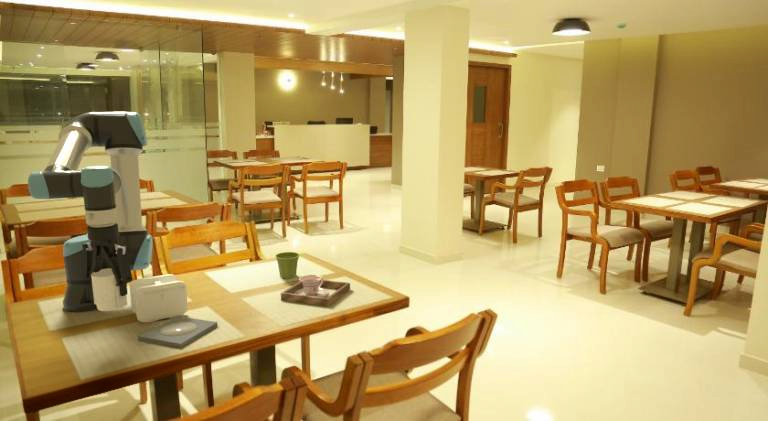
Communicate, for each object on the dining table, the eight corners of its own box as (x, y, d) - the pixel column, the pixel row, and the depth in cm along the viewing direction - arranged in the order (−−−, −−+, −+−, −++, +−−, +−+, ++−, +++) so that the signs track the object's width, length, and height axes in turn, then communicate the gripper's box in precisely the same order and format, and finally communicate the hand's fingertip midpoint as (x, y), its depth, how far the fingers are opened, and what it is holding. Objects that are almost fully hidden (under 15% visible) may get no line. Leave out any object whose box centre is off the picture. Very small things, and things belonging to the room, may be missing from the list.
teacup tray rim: (281, 300, 184) (280, 293, 183) (306, 284, 200) (305, 277, 200) (328, 306, 177) (328, 299, 177) (350, 289, 194) (350, 282, 194)
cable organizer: (181, 305, 179) (178, 272, 176) (189, 315, 170) (186, 280, 168) (132, 315, 171) (128, 280, 168) (137, 326, 162) (134, 289, 160)
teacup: (304, 303, 181) (303, 285, 180) (287, 293, 190) (287, 277, 189) (334, 295, 188) (334, 279, 187) (317, 287, 198) (316, 270, 196)
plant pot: (305, 275, 211) (304, 254, 209) (289, 281, 203) (288, 259, 201) (287, 271, 216) (286, 250, 214) (270, 277, 208) (270, 256, 206)
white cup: (113, 313, 143) (109, 277, 142) (88, 311, 145) (84, 275, 143) (132, 302, 151) (129, 268, 149) (108, 300, 153) (104, 267, 151)
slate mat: (138, 339, 152) (137, 335, 152) (177, 319, 167) (177, 315, 166) (180, 347, 147) (180, 343, 147) (217, 325, 162) (217, 321, 161)
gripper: (61, 224, 143) (71, 304, 148) (120, 230, 136) (129, 314, 141) (85, 218, 150) (94, 295, 155) (143, 224, 143) (150, 304, 148)
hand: (110, 304), depth 148 cm, fingers closed on white cup, 8 cm apart
